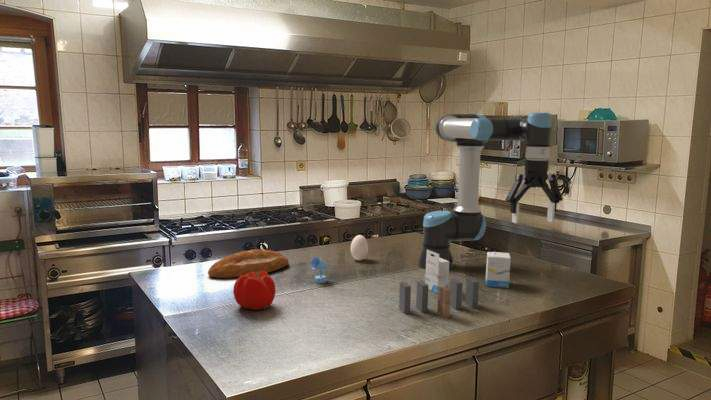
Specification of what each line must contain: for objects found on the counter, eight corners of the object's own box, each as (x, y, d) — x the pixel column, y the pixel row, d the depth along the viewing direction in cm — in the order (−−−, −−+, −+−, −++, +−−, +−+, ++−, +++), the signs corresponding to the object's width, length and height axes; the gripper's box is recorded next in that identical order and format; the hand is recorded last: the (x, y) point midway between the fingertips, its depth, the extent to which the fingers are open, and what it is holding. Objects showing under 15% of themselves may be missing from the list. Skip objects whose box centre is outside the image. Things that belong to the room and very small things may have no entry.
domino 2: (416, 307, 174) (416, 281, 173) (421, 306, 174) (422, 280, 173) (421, 312, 169) (422, 285, 168) (427, 312, 170) (428, 285, 168)
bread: (200, 273, 210) (199, 251, 208) (278, 260, 231) (278, 241, 229) (217, 284, 196) (216, 261, 194) (298, 269, 217) (298, 249, 215)
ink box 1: (448, 292, 190) (450, 253, 187) (437, 294, 187) (439, 254, 185) (435, 285, 197) (437, 247, 195) (424, 287, 195) (425, 249, 193)
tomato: (257, 317, 162) (256, 281, 161) (224, 308, 170) (223, 273, 168) (284, 305, 174) (284, 271, 172) (253, 297, 181) (252, 264, 179)
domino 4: (465, 303, 178) (466, 277, 177) (470, 302, 179) (472, 277, 178) (472, 308, 174) (473, 282, 172) (477, 307, 174) (479, 281, 173)
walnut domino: (437, 312, 169) (438, 285, 168) (442, 311, 170) (444, 285, 169) (443, 317, 165) (444, 290, 163) (449, 317, 165) (450, 290, 164)
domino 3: (449, 304, 177) (450, 278, 176) (454, 304, 177) (455, 278, 176) (455, 309, 172) (456, 283, 171) (461, 309, 173) (462, 282, 171)
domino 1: (399, 308, 172) (399, 282, 171) (404, 308, 173) (405, 281, 172) (404, 313, 168) (405, 286, 166) (410, 313, 168) (410, 286, 167)
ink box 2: (509, 288, 196) (511, 257, 194) (486, 286, 197) (487, 256, 196) (507, 281, 204) (509, 252, 202) (485, 280, 206) (486, 251, 204)
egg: (371, 259, 233) (372, 234, 231) (362, 263, 226) (362, 237, 225) (356, 257, 237) (356, 232, 236) (346, 260, 231) (347, 235, 229)
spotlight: (317, 284, 196) (330, 281, 201) (317, 258, 195) (331, 255, 199) (308, 281, 200) (322, 278, 204) (308, 256, 198) (322, 253, 203)
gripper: (509, 160, 168) (505, 225, 171) (576, 160, 174) (571, 222, 177) (497, 158, 175) (494, 221, 178) (562, 158, 181) (557, 218, 184)
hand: (532, 222), depth 177 cm, fingers open, 13 cm apart
